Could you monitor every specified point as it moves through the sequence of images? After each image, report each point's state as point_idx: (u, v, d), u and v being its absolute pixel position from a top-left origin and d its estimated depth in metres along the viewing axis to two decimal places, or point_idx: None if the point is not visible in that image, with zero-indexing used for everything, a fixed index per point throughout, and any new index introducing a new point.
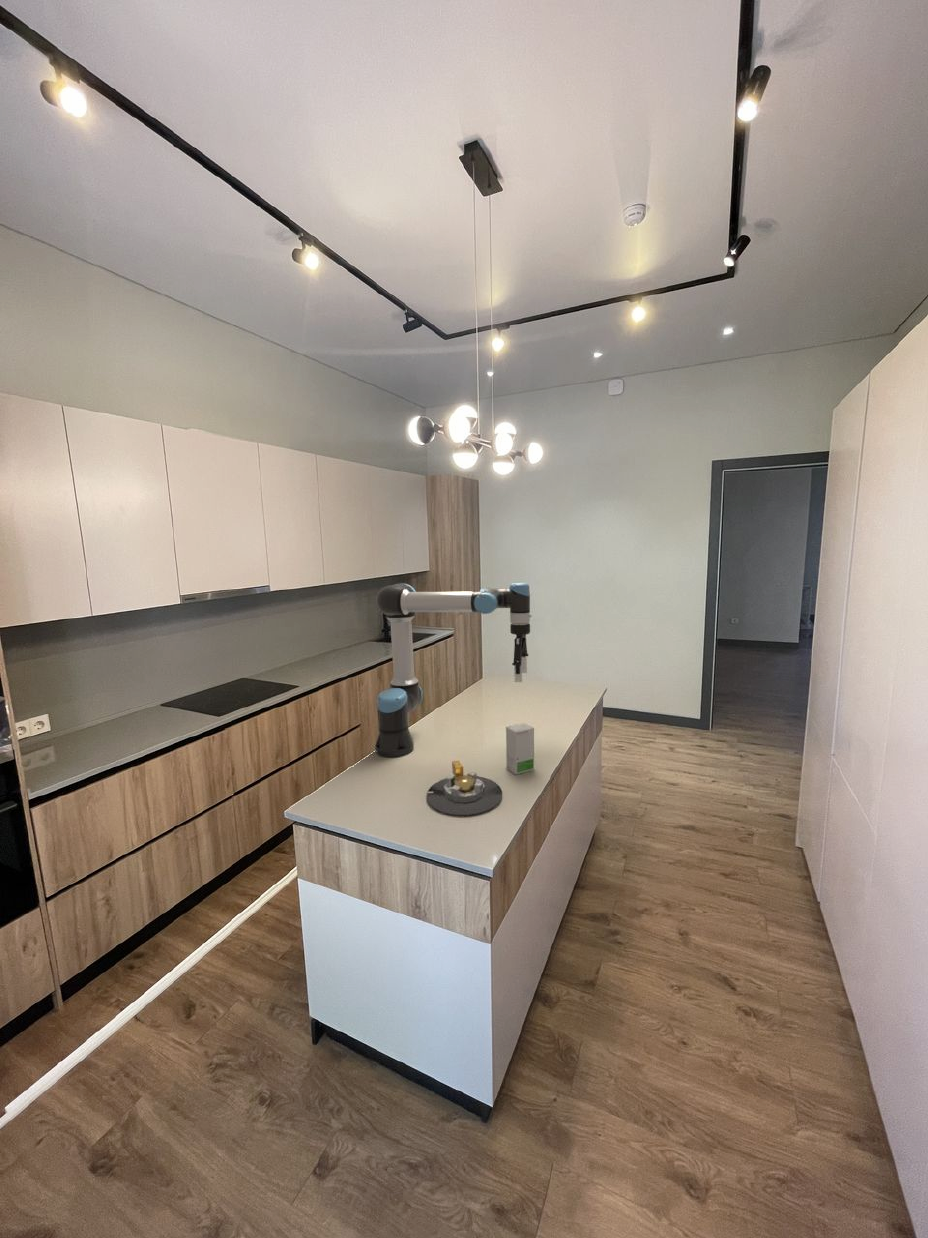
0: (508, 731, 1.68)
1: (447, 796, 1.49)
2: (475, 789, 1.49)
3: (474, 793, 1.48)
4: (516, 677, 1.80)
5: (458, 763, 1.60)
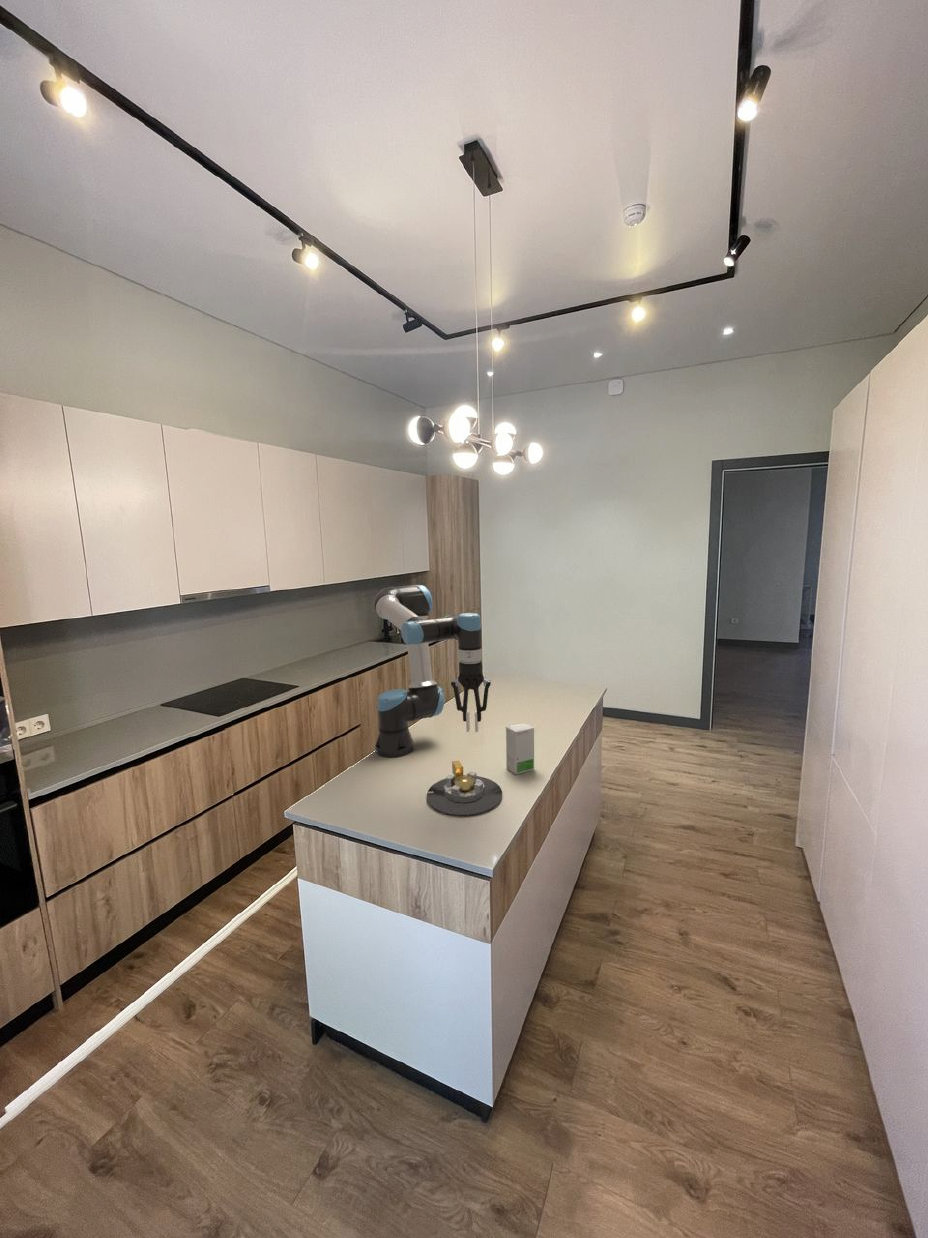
0: (508, 731, 1.68)
1: (447, 796, 1.49)
2: (475, 789, 1.49)
3: (474, 793, 1.48)
4: None
5: (458, 763, 1.60)
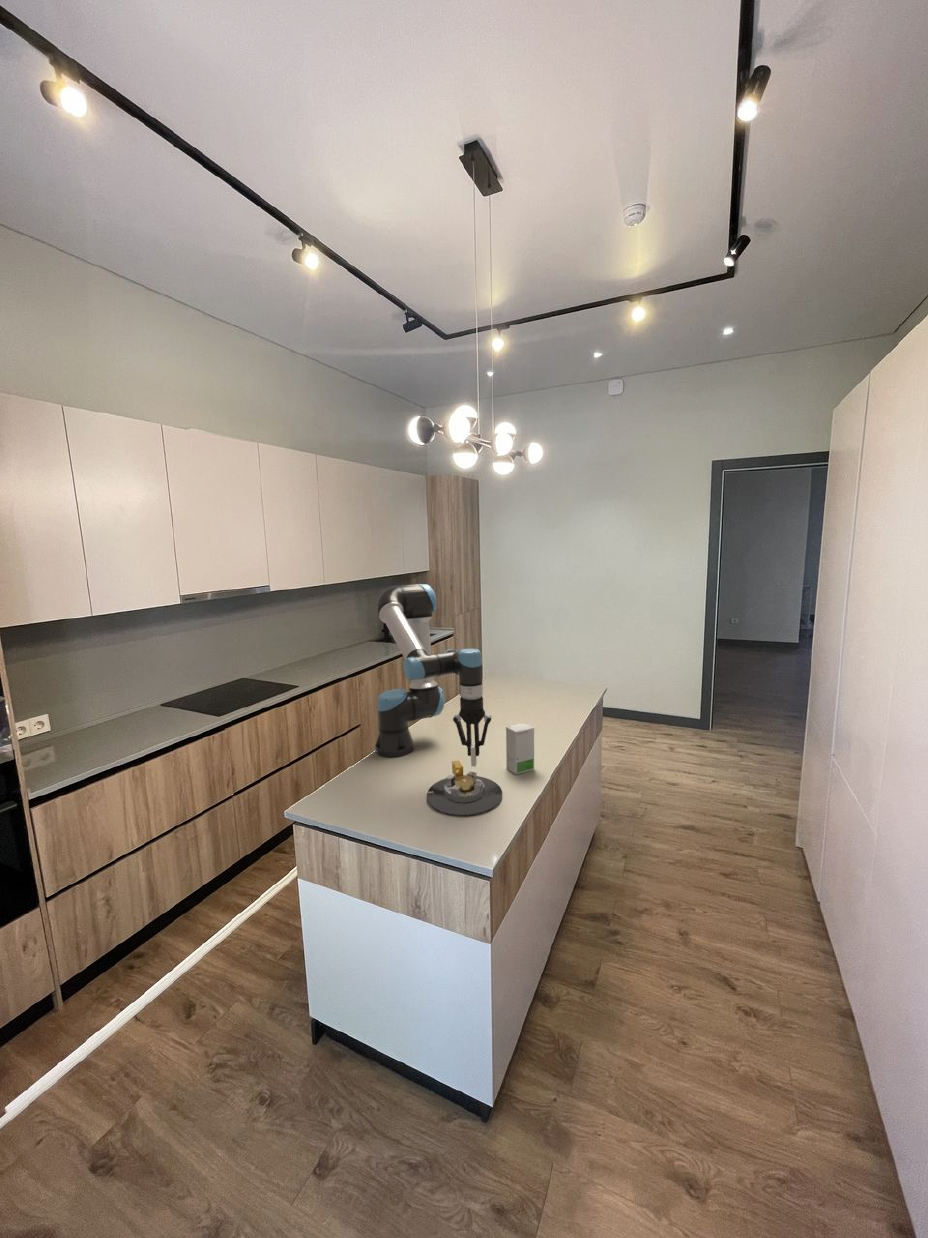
0: (508, 731, 1.68)
1: (447, 796, 1.49)
2: (475, 789, 1.49)
3: (474, 793, 1.48)
4: None
5: (458, 763, 1.60)
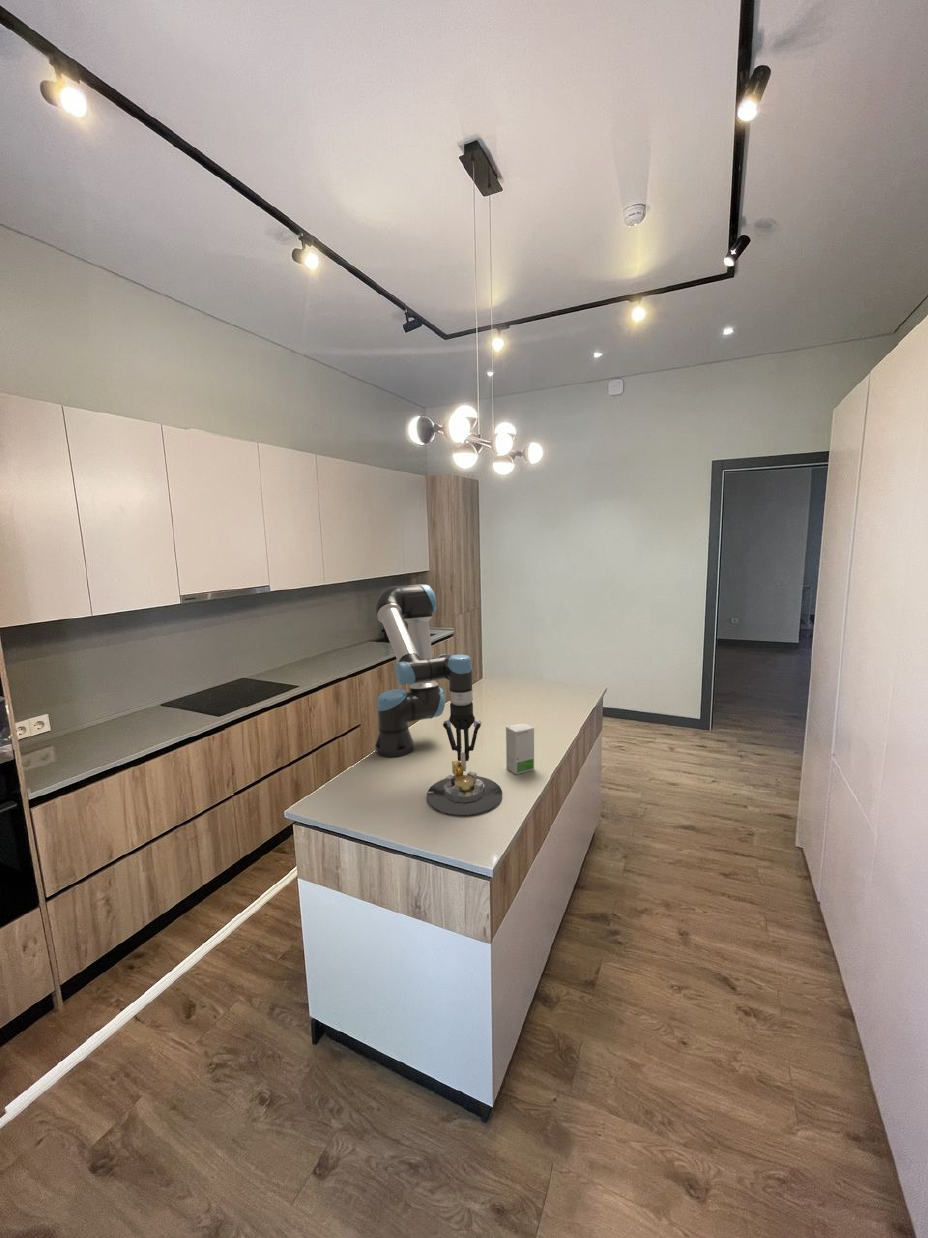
0: (508, 731, 1.68)
1: (447, 796, 1.49)
2: (475, 789, 1.49)
3: (474, 793, 1.48)
4: None
5: (458, 763, 1.60)
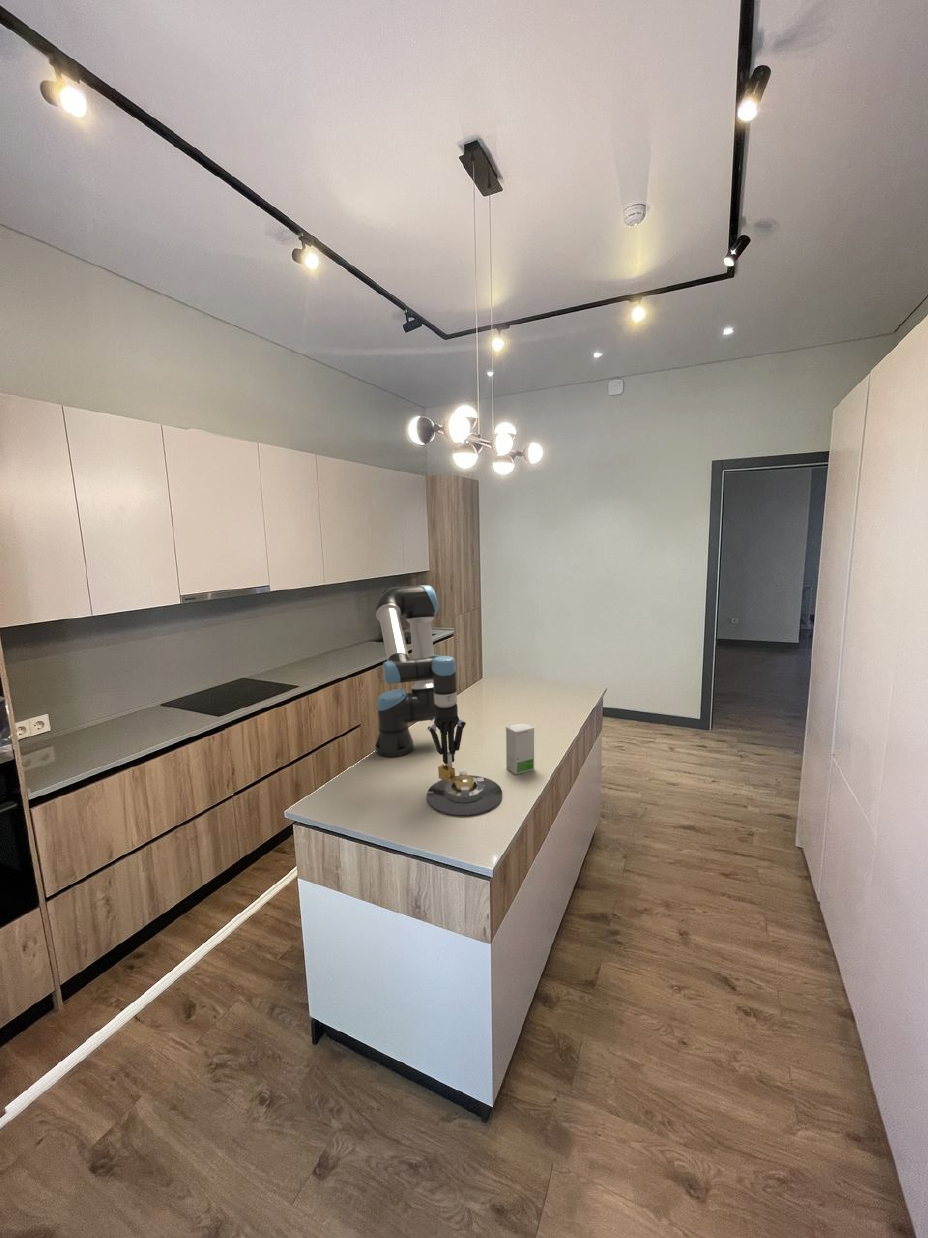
0: (508, 731, 1.68)
1: (456, 800, 1.47)
2: (479, 785, 1.52)
3: (480, 789, 1.50)
4: None
5: (445, 766, 1.58)
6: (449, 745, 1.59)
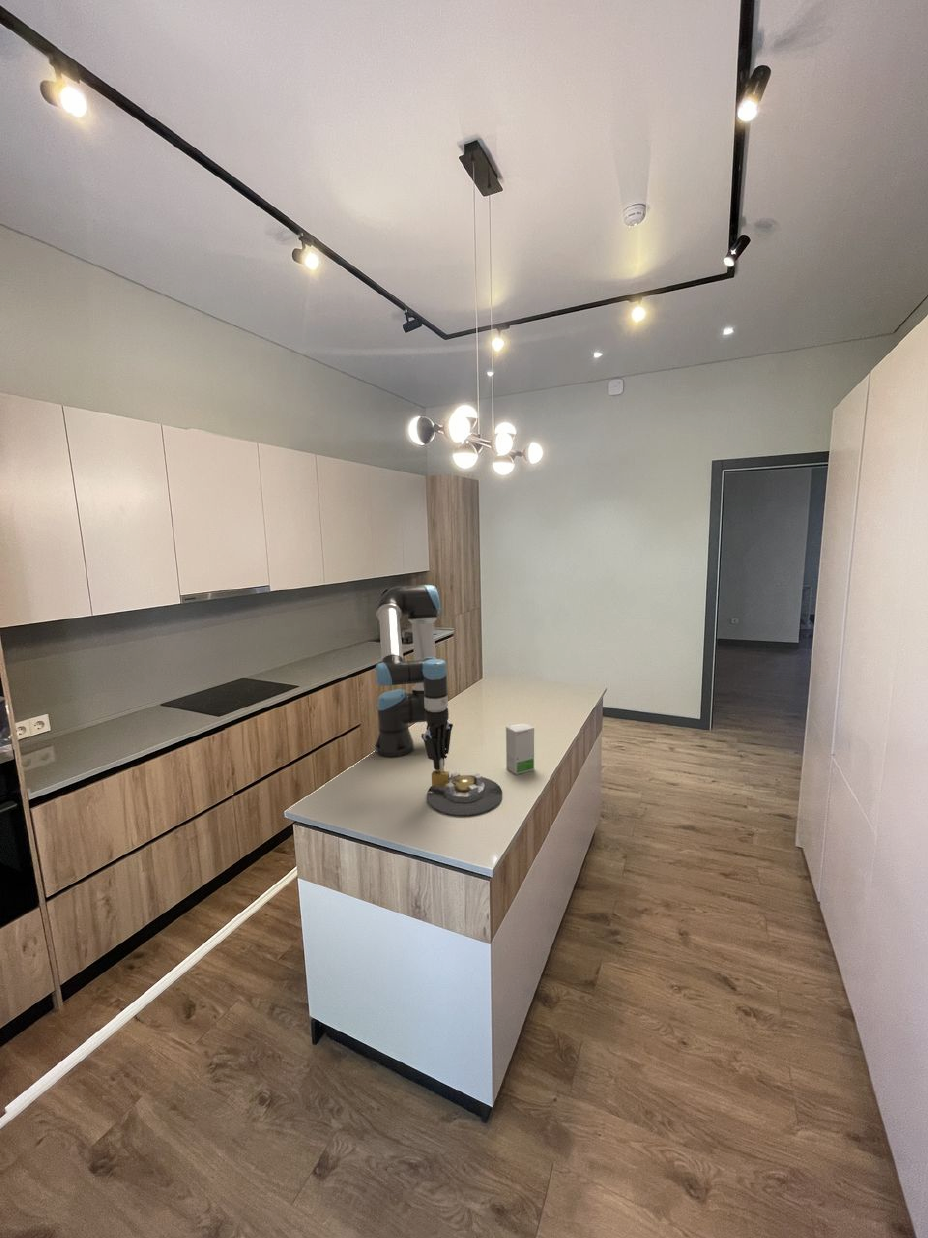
0: (508, 731, 1.68)
1: (466, 800, 1.47)
2: (478, 781, 1.54)
3: (482, 784, 1.53)
4: None
5: (438, 771, 1.54)
6: (439, 750, 1.56)
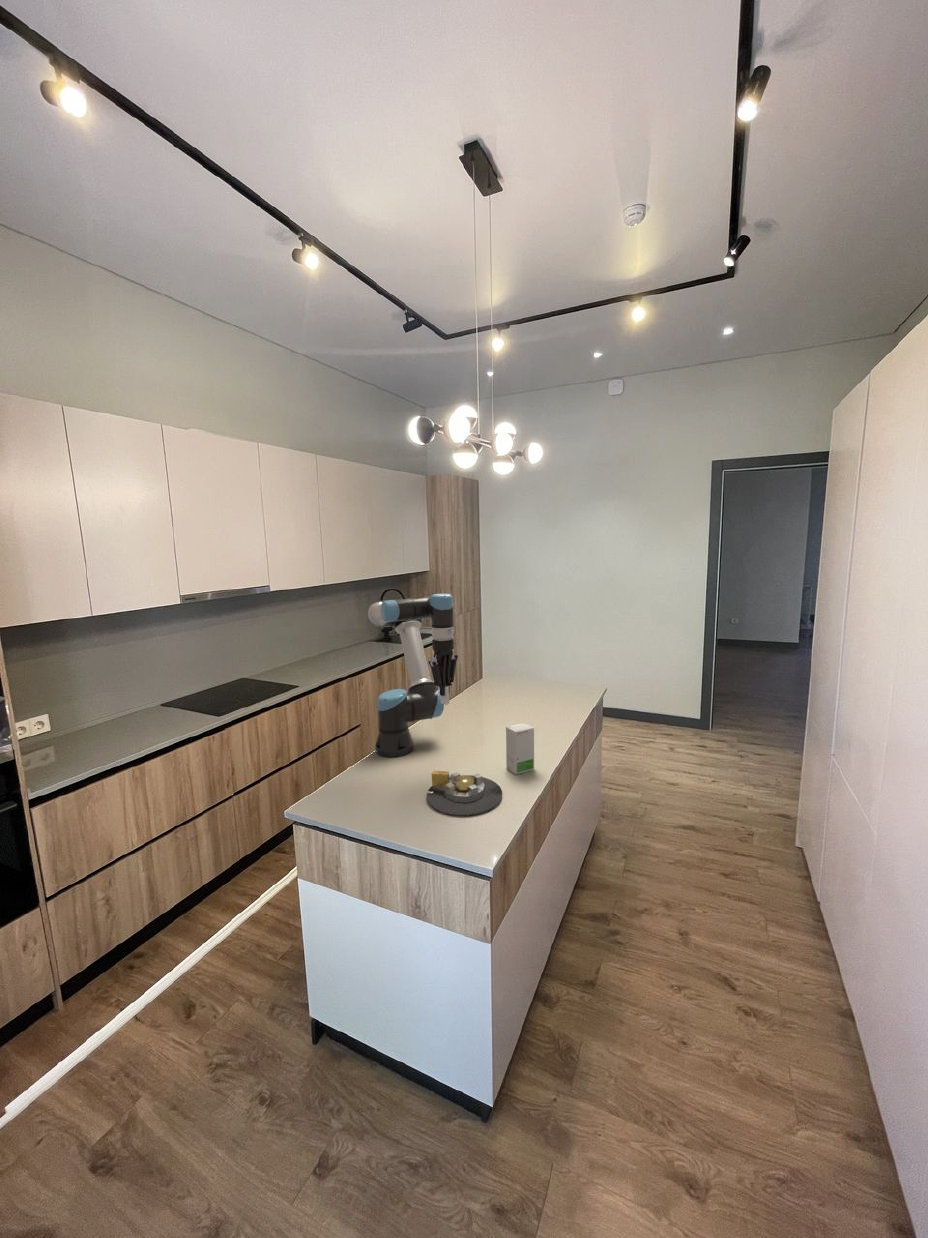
0: (508, 731, 1.68)
1: (466, 800, 1.47)
2: (478, 781, 1.54)
3: (482, 784, 1.53)
4: (442, 699, 1.70)
5: (438, 771, 1.54)
6: (445, 678, 1.70)
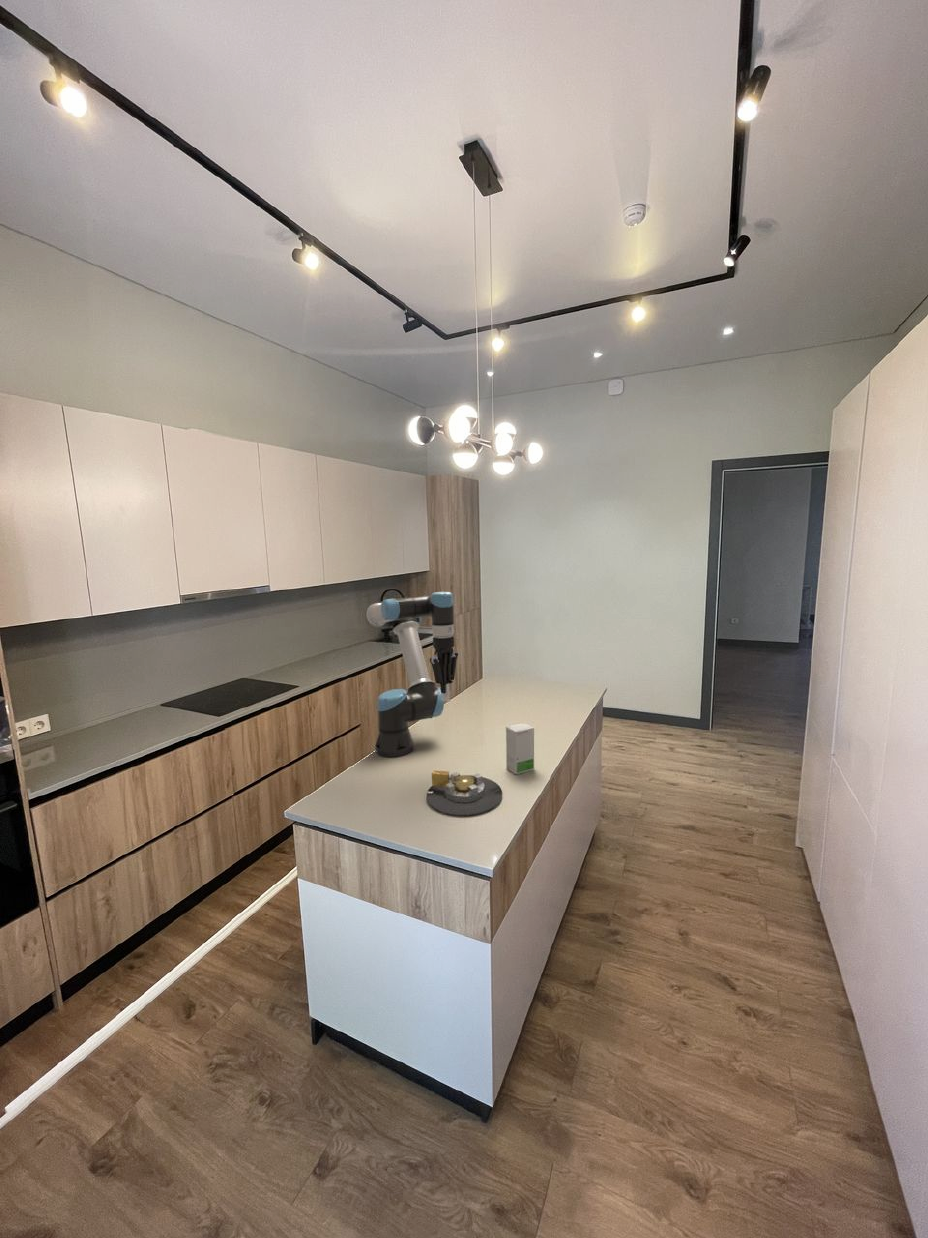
0: (508, 731, 1.68)
1: (466, 800, 1.47)
2: (478, 781, 1.54)
3: (482, 784, 1.53)
4: (443, 696, 1.71)
5: (438, 771, 1.54)
6: (446, 675, 1.71)
